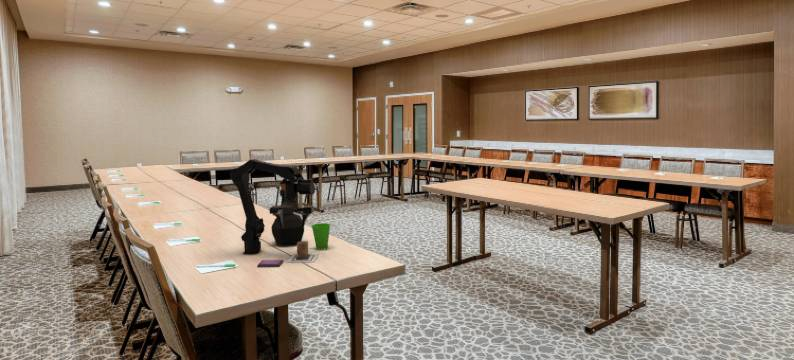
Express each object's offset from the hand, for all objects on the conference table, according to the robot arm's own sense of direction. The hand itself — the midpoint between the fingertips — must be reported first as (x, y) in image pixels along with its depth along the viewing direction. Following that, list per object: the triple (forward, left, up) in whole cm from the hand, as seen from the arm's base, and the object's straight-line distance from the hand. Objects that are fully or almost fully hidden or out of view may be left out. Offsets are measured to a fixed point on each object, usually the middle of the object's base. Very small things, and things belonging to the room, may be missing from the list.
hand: (292, 228), depth 217 cm
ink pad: (-6, -16, -12) cm, 20 cm away
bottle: (-7, +20, -12) cm, 25 cm away
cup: (+11, +10, -12) cm, 19 cm away
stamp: (+6, -8, -12) cm, 15 cm away
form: (+6, -8, -12) cm, 15 cm away
